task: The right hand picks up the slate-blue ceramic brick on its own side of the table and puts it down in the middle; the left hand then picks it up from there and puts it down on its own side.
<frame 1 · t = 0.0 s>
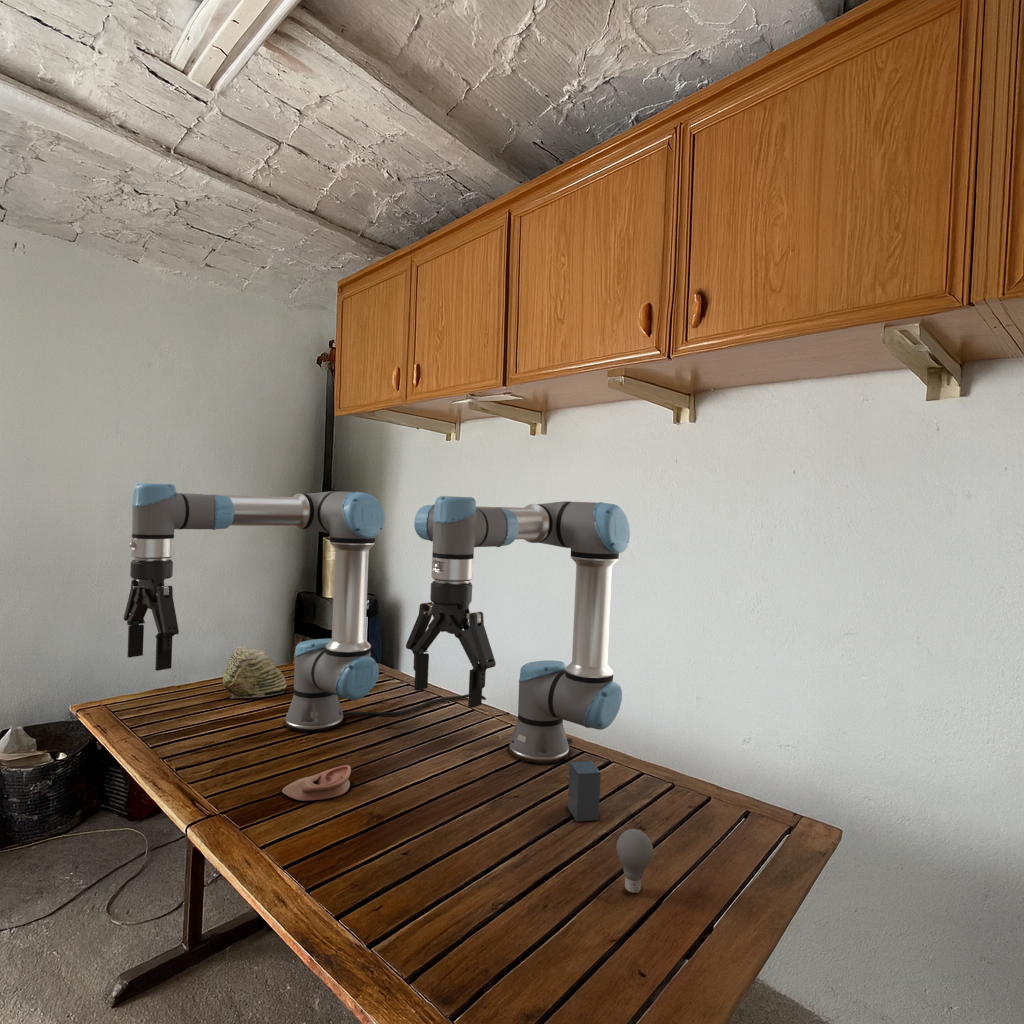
left hand: (148, 662, 129), 28 cm above the table, tool pointing down, fingers open, 13 cm apart
right hand: (446, 697, 115), 28 cm above the table, tool pointing down, fingers open, 13 cm apart
light bulb: (632, 891, 106), on the table
fossil: (254, 694, 198), on the table
brick: (582, 813, 131), on the table
anatomical model: (316, 790, 137), on the table
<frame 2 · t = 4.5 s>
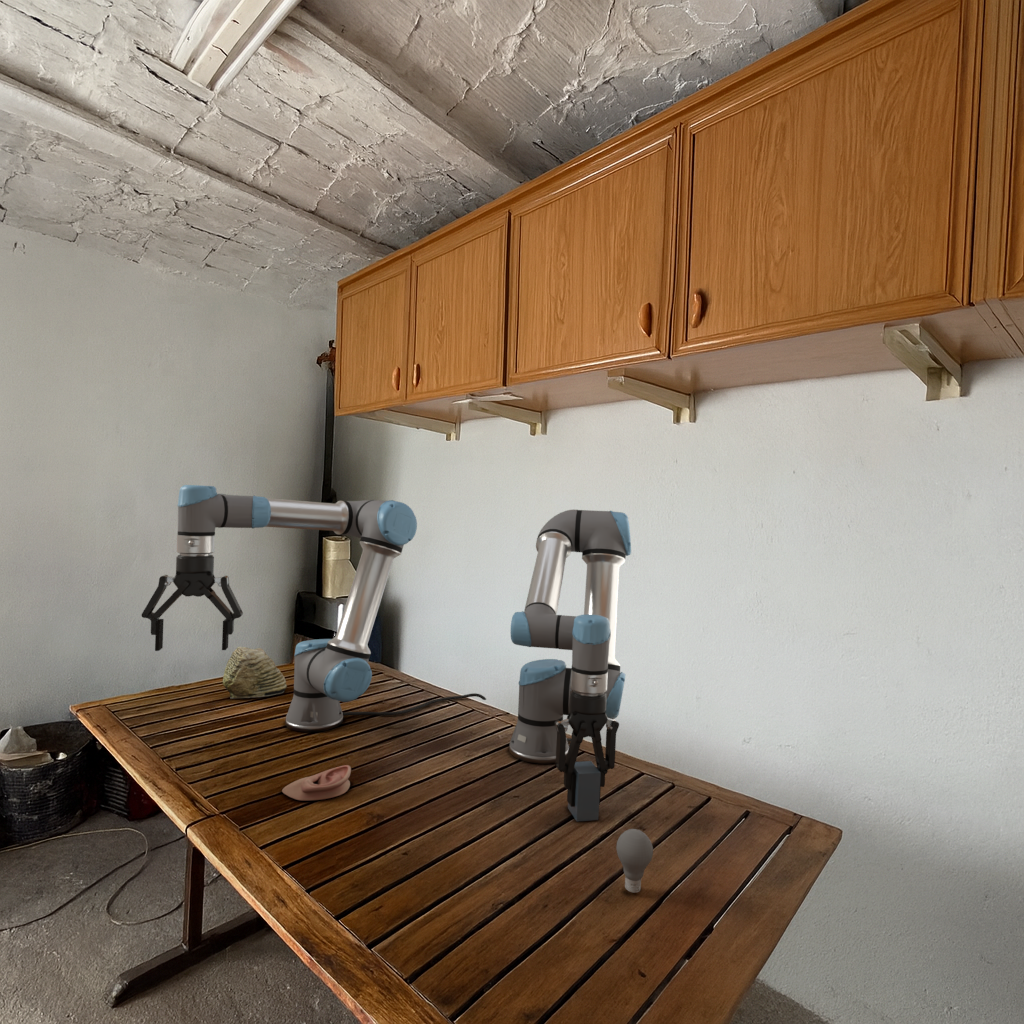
left hand: (192, 649, 141), 28 cm above the table, tool pointing down, fingers open, 13 cm apart
right hand: (583, 802, 131), 2 cm above the table, tool pointing down, fingers closed on brick, 5 cm apart
brick: (582, 813, 131), on the table, touching right hand
everything else where it was.
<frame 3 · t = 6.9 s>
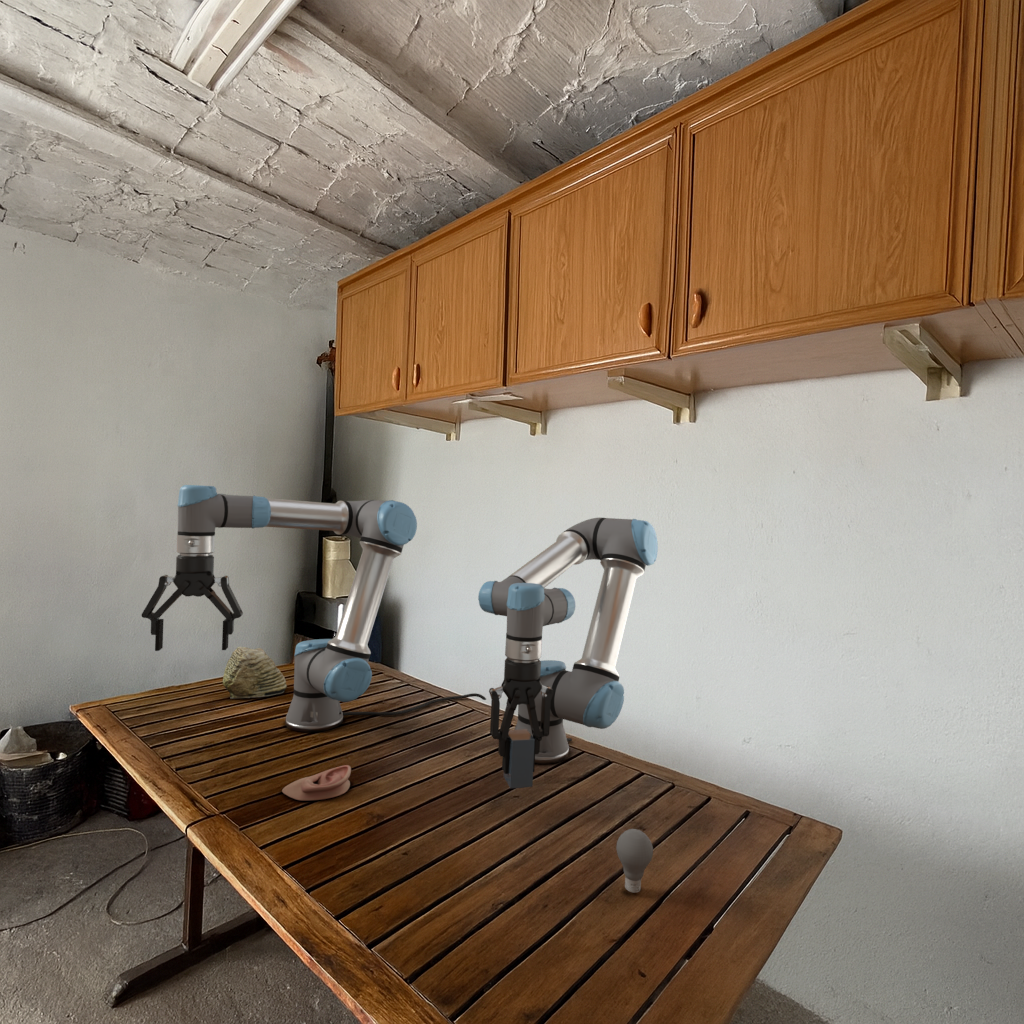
left hand: (192, 649, 141), 28 cm above the table, tool pointing down, fingers open, 13 cm apart
right hand: (518, 769, 131), 9 cm above the table, tool pointing down, fingers closed on brick, 5 cm apart
brick: (517, 781, 131), point 6 cm above the table, touching right hand
everything else where it was.
when the right hand's fingers open (4 cm above the table, at t = 9.5 s): brick drops 1 cm, on the table.
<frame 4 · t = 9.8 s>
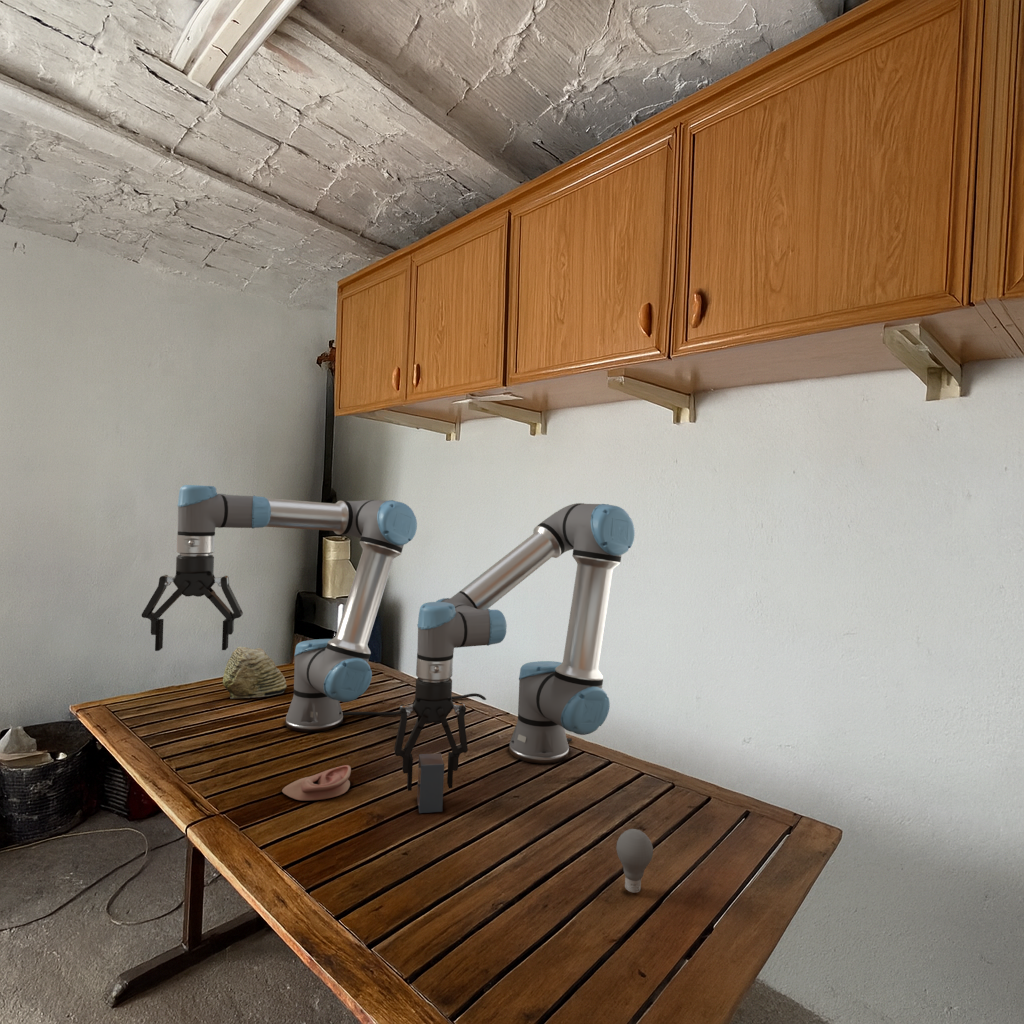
left hand: (192, 649, 141), 28 cm above the table, tool pointing down, fingers open, 13 cm apart
right hand: (429, 786, 132), 4 cm above the table, tool pointing down, fingers open, 8 cm apart
brick: (429, 805, 132), on the table
everything else where it was.
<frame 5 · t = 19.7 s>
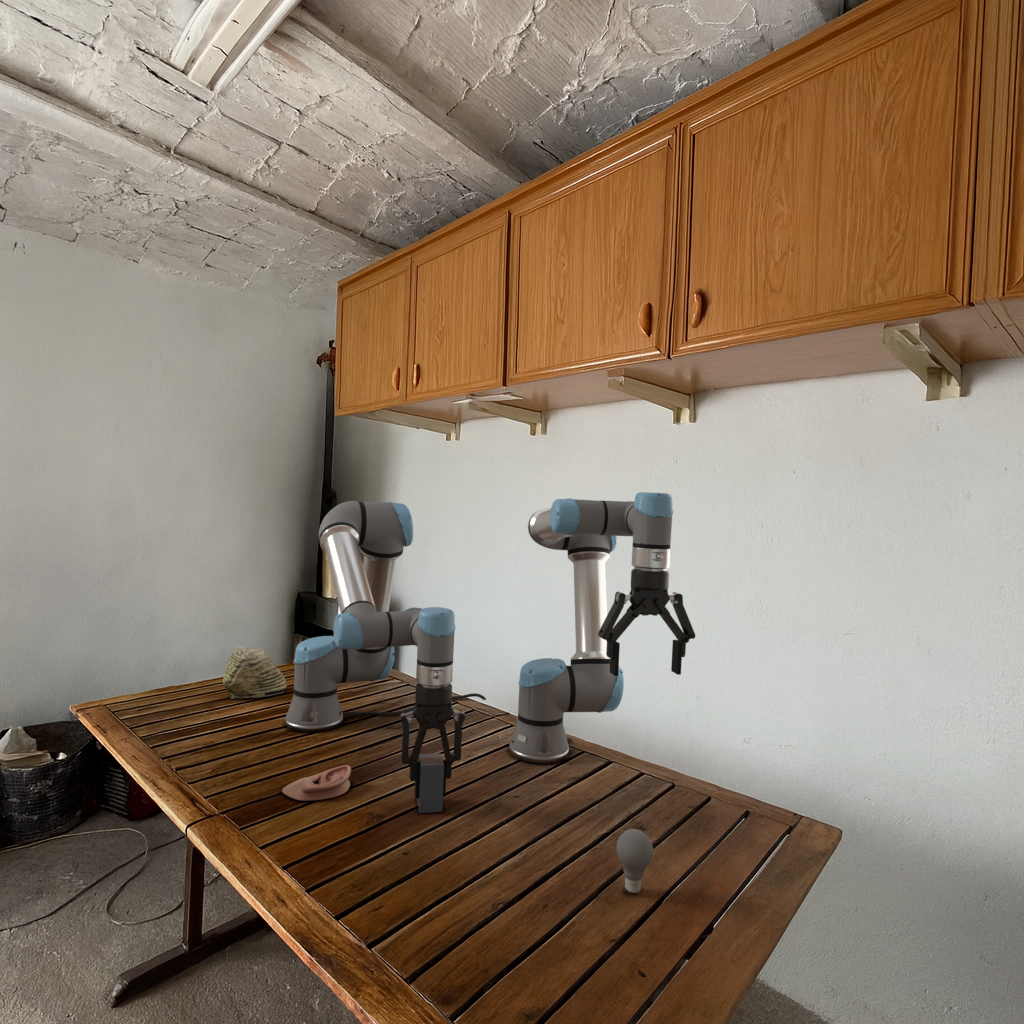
left hand: (429, 794, 132), 2 cm above the table, tool pointing down, fingers closed on brick, 5 cm apart
right hand: (645, 673, 128), 30 cm above the table, tool pointing down, fingers open, 13 cm apart
brick: (429, 805, 132), on the table, touching left hand
everything else where it was.
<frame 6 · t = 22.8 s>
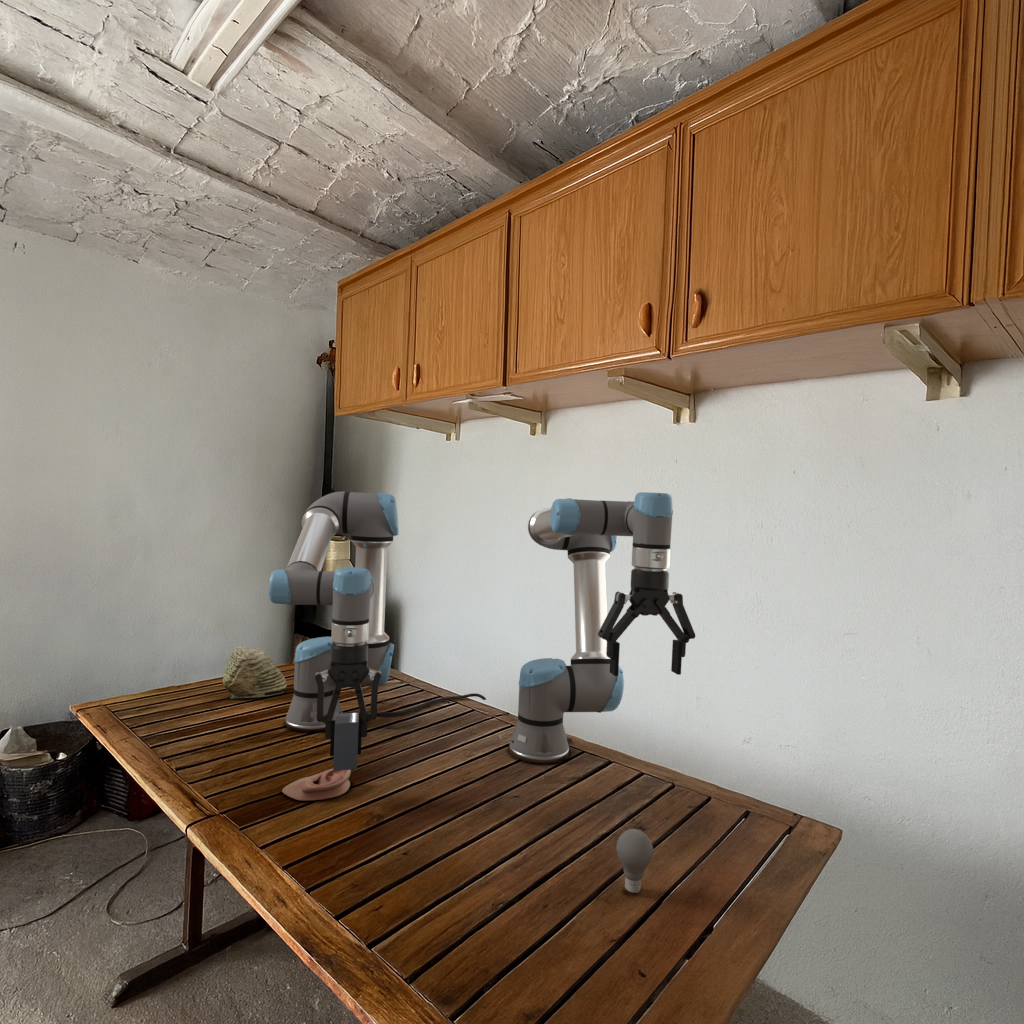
left hand: (345, 752, 133), 10 cm above the table, tool pointing down, fingers closed on brick, 5 cm apart
right hand: (645, 673, 128), 30 cm above the table, tool pointing down, fingers open, 13 cm apart
brick: (345, 764, 133), point 8 cm above the table, touching left hand
everything else where it was.
when the left hand's fingers open (4 cm above the table, at t = 26.3 s): brick drops 1 cm, on the table.
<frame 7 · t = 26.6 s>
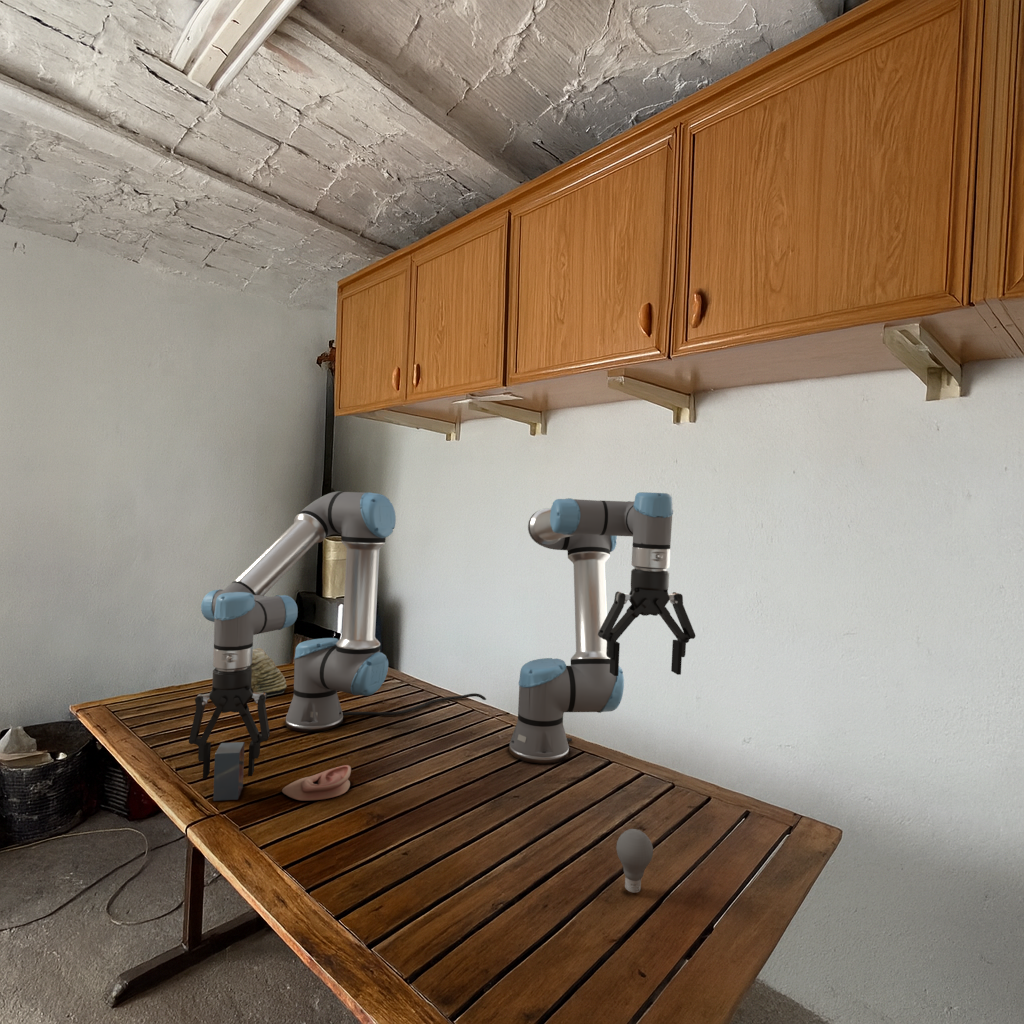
left hand: (228, 774, 133), 4 cm above the table, tool pointing down, fingers open, 8 cm apart
right hand: (645, 673, 128), 30 cm above the table, tool pointing down, fingers open, 13 cm apart
brick: (228, 793, 133), on the table
everything else where it was.
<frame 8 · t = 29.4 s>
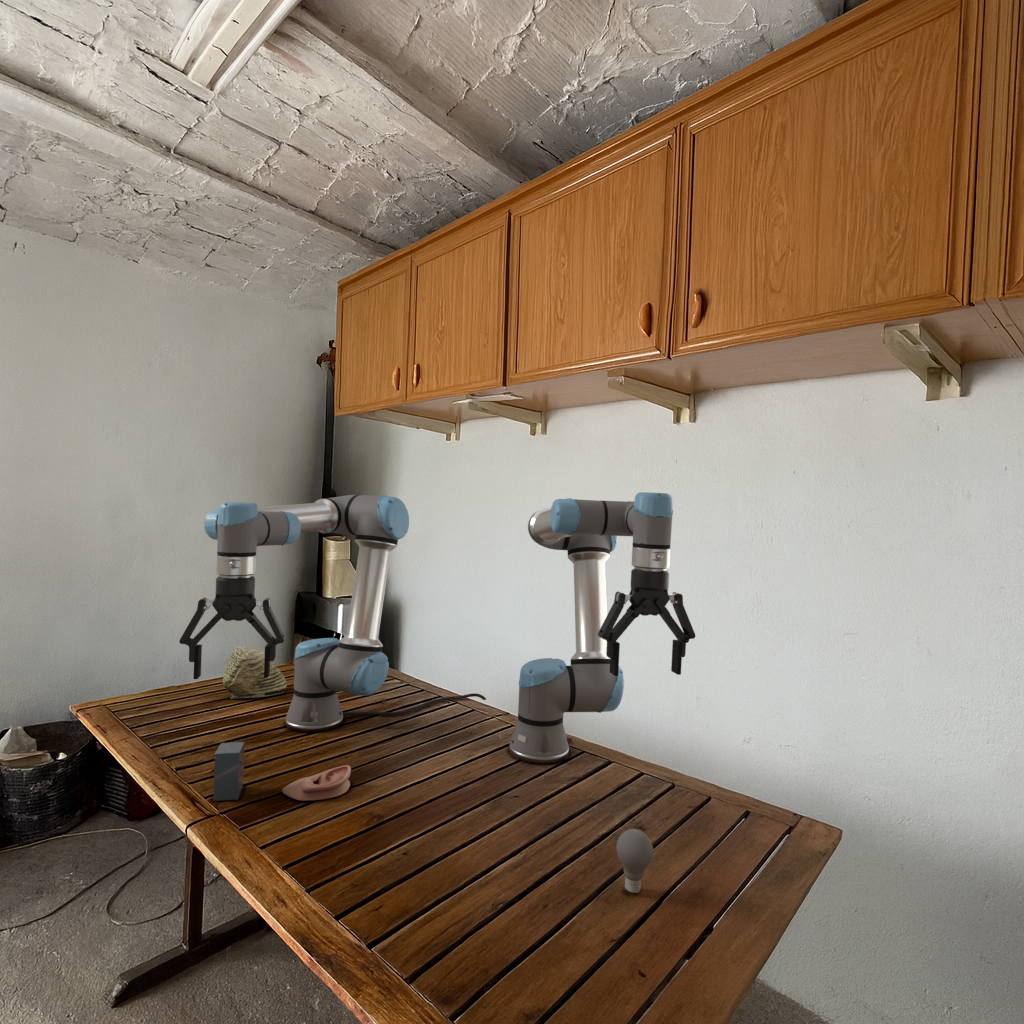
left hand: (232, 676, 133), 25 cm above the table, tool pointing down, fingers open, 13 cm apart
right hand: (645, 673, 128), 30 cm above the table, tool pointing down, fingers open, 13 cm apart
nothing on the table moved.
at the end: brick inside the target area (0.1 cm from its centre), on the table; brick tilted 0°; the two hands never held the brick at the same time; the left hand is holding nothing; the right hand is holding nothing; brick at rest at the end (0.0 cm/s) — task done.
